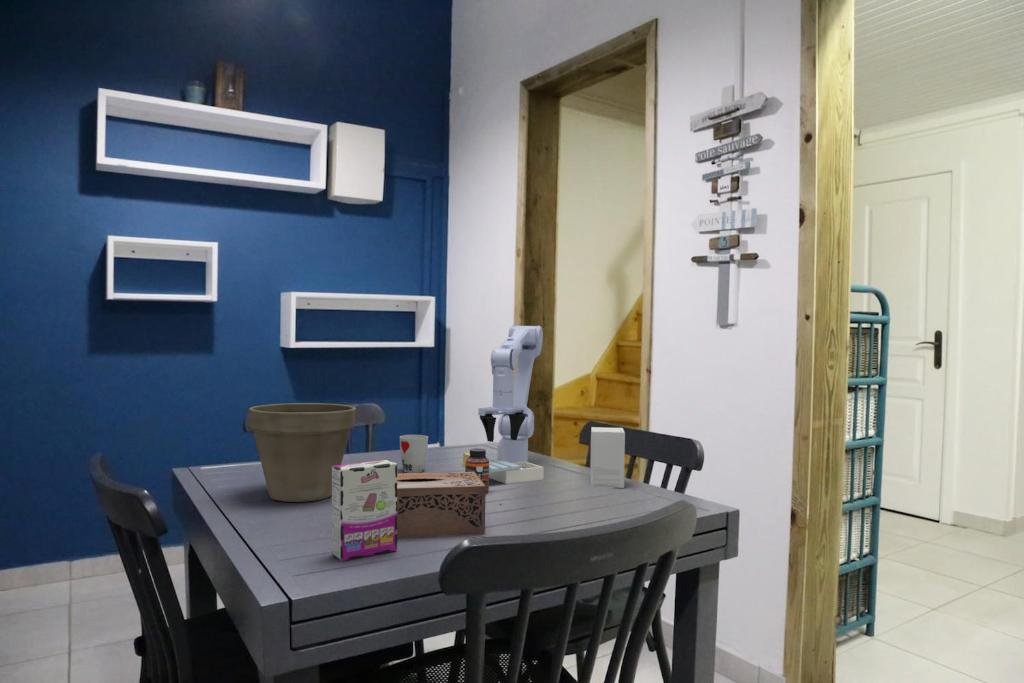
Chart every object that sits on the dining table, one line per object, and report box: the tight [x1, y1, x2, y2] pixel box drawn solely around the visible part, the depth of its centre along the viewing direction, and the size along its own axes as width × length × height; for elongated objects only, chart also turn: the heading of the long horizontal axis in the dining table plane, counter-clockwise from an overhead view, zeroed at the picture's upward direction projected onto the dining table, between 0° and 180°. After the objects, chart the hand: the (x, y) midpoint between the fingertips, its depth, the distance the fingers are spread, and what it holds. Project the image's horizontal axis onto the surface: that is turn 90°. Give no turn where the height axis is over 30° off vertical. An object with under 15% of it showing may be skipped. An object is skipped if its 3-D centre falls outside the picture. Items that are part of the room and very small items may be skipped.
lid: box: [461, 452, 521, 472], centre depth 191 cm, size 10×14×4 cm
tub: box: [489, 461, 545, 485], centre depth 196 cm, size 9×12×4 cm
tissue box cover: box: [397, 471, 487, 538], centre depth 149 cm, size 26×14×10 cm, turn 102°
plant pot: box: [248, 402, 357, 503], centre depth 174 cm, size 25×25×22 cm
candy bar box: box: [331, 459, 398, 562], centre depth 131 cm, size 11×5×16 cm, turn 126°
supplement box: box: [589, 426, 626, 489], centre depth 194 cm, size 9×9×15 cm
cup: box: [399, 434, 429, 473], centre depth 205 cm, size 8×8×10 cm
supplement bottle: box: [464, 447, 490, 495], centre depth 179 cm, size 6×6×11 cm
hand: (502, 440), depth 199 cm, fingers open, 7 cm apart
